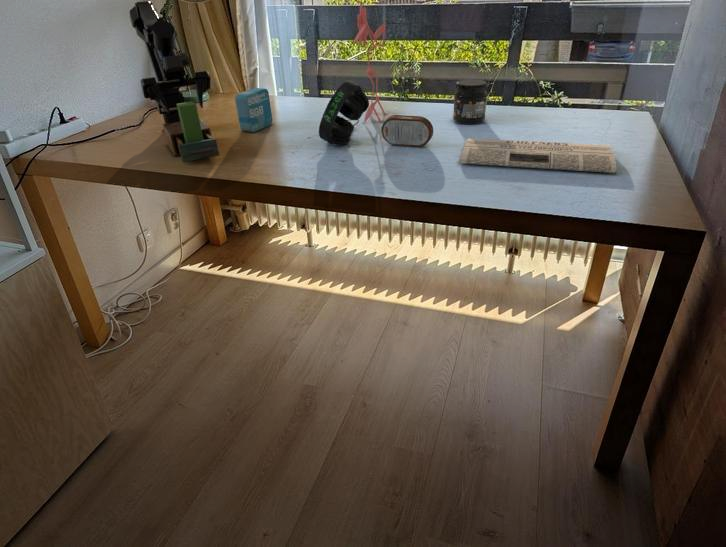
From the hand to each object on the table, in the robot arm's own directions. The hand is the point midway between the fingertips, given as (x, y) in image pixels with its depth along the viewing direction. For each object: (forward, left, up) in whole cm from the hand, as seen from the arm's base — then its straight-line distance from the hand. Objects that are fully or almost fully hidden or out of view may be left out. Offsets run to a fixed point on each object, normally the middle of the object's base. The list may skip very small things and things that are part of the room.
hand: (185, 109), depth 139 cm
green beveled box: (+2, -1, -11) cm, 11 cm away
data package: (0, +28, -13) cm, 31 cm away
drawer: (+3, -2, -12) cm, 13 cm away
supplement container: (+63, +61, -13) cm, 89 cm away
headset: (+34, +26, -13) cm, 45 cm away
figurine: (+28, +52, -13) cm, 61 cm away
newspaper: (+91, +33, -13) cm, 98 cm away
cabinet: (-7, +4, -13) cm, 15 cm away
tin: (+55, +30, -13) cm, 64 cm away
